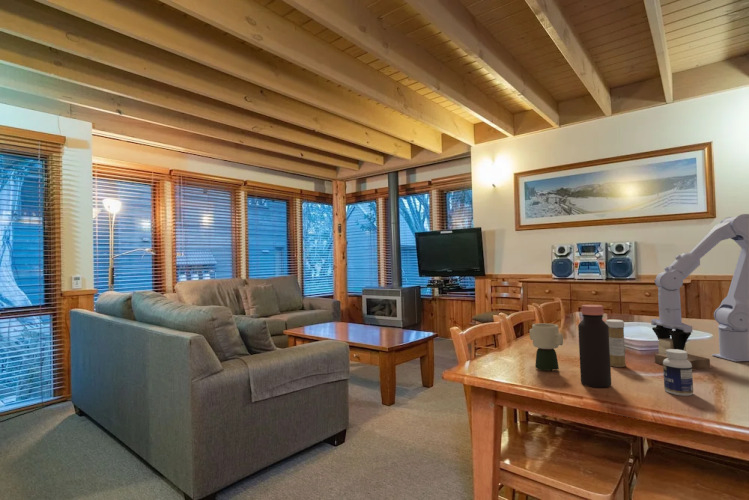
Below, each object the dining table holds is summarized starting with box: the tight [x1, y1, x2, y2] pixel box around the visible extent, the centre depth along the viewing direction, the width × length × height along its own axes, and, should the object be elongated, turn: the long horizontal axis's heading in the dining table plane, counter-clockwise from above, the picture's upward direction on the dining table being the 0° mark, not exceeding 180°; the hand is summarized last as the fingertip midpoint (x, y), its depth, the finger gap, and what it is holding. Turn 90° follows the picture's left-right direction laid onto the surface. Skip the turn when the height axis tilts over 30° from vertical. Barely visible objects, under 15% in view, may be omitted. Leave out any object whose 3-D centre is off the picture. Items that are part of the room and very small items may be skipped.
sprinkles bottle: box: [605, 318, 627, 368], centre depth 116 cm, size 5×5×14 cm
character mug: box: [528, 322, 564, 372], centre depth 113 cm, size 11×7×13 cm, turn 29°
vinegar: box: [577, 304, 612, 389], centre depth 100 cm, size 7×7×20 cm
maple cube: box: [657, 337, 687, 354], centre depth 125 cm, size 5×5×5 cm
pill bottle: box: [662, 349, 694, 397], centre depth 92 cm, size 5×5×10 cm
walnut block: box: [654, 353, 711, 371], centre depth 114 cm, size 9×9×3 cm
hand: (672, 351), depth 125 cm, fingers closed on maple cube, 5 cm apart
